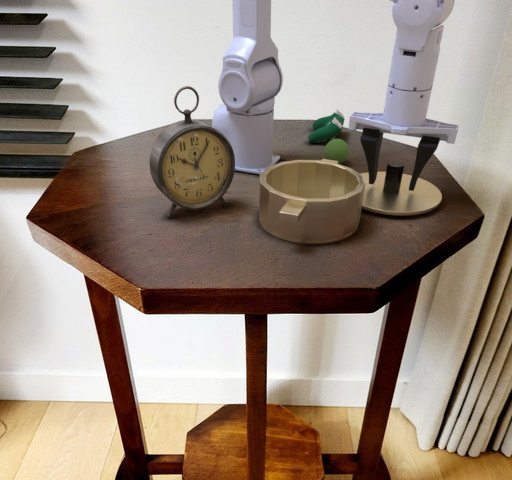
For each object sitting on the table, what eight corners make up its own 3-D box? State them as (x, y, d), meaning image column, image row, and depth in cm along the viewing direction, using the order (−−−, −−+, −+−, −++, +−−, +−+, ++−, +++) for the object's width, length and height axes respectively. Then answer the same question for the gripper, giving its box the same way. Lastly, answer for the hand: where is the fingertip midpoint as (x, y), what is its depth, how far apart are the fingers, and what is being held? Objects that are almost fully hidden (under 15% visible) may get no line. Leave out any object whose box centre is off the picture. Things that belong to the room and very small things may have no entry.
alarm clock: (164, 224, 73) (151, 96, 63) (151, 208, 77) (136, 85, 66) (237, 209, 77) (236, 86, 67) (221, 194, 81) (218, 76, 70)
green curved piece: (318, 155, 99) (345, 133, 96) (305, 138, 98) (331, 116, 94) (323, 138, 106) (348, 118, 103) (311, 123, 105) (336, 101, 101)
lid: (329, 208, 77) (333, 174, 74) (353, 172, 88) (357, 141, 85) (433, 227, 73) (442, 191, 70) (445, 187, 84) (453, 154, 81)
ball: (320, 165, 90) (322, 141, 88) (327, 157, 93) (329, 134, 91) (344, 169, 89) (347, 145, 87) (349, 161, 92) (352, 137, 90)
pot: (236, 241, 70) (235, 198, 66) (284, 186, 83) (286, 148, 80) (339, 262, 66) (344, 218, 62) (371, 201, 80) (377, 161, 76)
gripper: (348, 86, 70) (337, 187, 79) (464, 99, 66) (439, 204, 75) (360, 74, 75) (348, 170, 84) (469, 86, 71) (444, 185, 80)
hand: (391, 184), depth 80 cm, fingers open, 5 cm apart
